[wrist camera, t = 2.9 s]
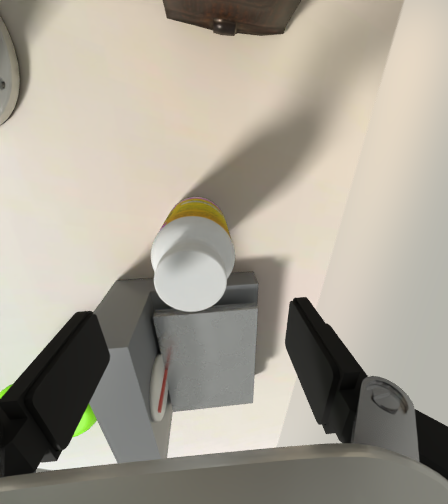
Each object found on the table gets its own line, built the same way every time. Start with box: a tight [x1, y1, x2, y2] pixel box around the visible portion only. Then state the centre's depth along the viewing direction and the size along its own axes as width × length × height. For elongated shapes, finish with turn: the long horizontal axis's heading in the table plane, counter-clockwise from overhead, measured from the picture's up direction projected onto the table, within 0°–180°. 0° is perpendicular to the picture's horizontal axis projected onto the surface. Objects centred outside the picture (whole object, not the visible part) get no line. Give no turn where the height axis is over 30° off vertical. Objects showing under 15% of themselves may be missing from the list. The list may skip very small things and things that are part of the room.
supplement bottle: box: [151, 197, 235, 312], centre depth 19 cm, size 7×7×13 cm
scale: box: [89, 272, 258, 463], centre depth 27 cm, size 22×18×11 cm
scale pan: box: [153, 302, 258, 412], centre depth 28 cm, size 18×12×1 cm, turn 1°
